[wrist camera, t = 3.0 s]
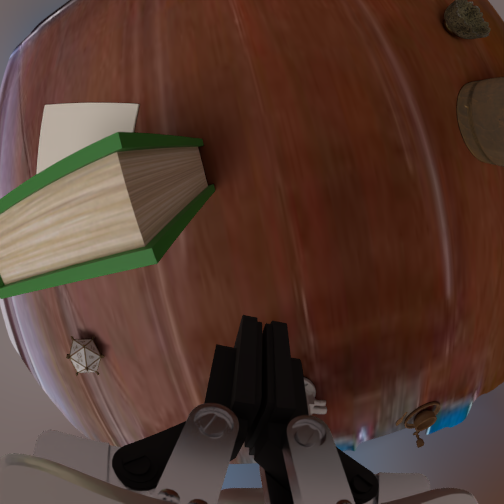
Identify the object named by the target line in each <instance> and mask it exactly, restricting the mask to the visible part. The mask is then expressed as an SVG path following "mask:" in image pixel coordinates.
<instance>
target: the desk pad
mask: <svg viewBox="0 0 504 504" xmlns="http://www.w3.org/2000/svg"><path fill="white" fill-rule="evenodd" d="M139 105H140V104H129V103H68V104H52V105H45V108H44V113H43V119H42V125H41V132H40V140H39V149H38V160H37V174H38V173H40V172H41V171H43V170H45V169H46V168H48V167H50V166H51V165H53V164H55V163H57V162H58V161H60V160H62V159H64V158H66V157H67V156H69V155H71V154H73V153H75V152H77V151H79V150H81V149H83V148H85V147H87V146H89V145H91V144H93V143H95V142H97V141H99V140H101V139H103V138H105V137H107V136H110V135H112V134H114V133H116V132H134V129H135V124H136V119H137V114H138V110H139Z"/></svg>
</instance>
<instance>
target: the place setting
mask: <svg viewBox="0 0 504 504" xmlns="http://www.w3.org/2000/svg"><path fill="white" fill-rule="evenodd" d="M431 405H436V409H435V411H434V412H433V411H430V410H429V411H427V410H424V411H422V412H420V413H419V414H418V415H417V416H416V418H415V420H414V424H408V423H407V421H408V420H409V419H410V418H411V417H412V416H413V415H414V414H415V413H417V412H418V411H420V410H422V409H424V408H426V407H428V406H431ZM439 410H440V405H439V403H437V402H430V403H427V404H425V405H423V406H421V407H419V408H417V409H416V410H414V411H413V412H412V413H411V414H410V415H409V416H408V417H407V418H406V420H405V427H406V428H409V429H410V428H415V430H416V432H414V433H413V435H416V437H417V439H418V440H417V441H416V443H417V446H418V448H419V447H421V446H423V445H424V441H423V440H422V439H421V438H419V435H418V433H419V432H420V431H422V430H424V429H427V428H428V427H430V426H431V425H433V424H434V423H435V421H436V419H437V418H436V416H435V415H436V414H437V413H438V412H439ZM406 413H407V412H406ZM406 413H405V414H404V415H403V417H404V416H405V415H406ZM403 417H402V418H401V419H399V420H398V421H397V422H396V426H397V425H399V424H400V423H401V422H402V420H403Z"/></svg>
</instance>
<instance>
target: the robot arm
mask: <svg viewBox="0 0 504 504" xmlns="http://www.w3.org/2000/svg"><path fill="white" fill-rule="evenodd" d="M315 395H316V391H315V387H314V384H313V383H312V382H311V381H310V380H308V379H307V378H304V377H303V370H302V363H301V360H300V359H296V358H291V355H290V346H289V338H288V329H287V324H286V323H282V322H276V321H272V322H271V324H267V323H266V324H265V327H264V330H263V333H262V322H257V318H256V317H251V316H246V315H243V316H242V320H241V323H240V327H239V331H238V335H237V338H236V342H235V346H234V348H232V347H227V346H222V345H217V344H216V349H215V354H214V359H213V363H212V368H211V373H210V378H209V383H208V388H207V393H206V398H205V403H204V404H201V405H198V406H197V407H195V408H194V409H193V410H192V411H191V413H190V414H189V417H188V419H187V421H185V422H183V423H181V424H178V425H176V426H174V427H171V428H169V429H167V430H164V431H162V432H159V433H157V434H155V435H152V436H150V437H147V438H144V439H142V440H139V441H136V442H134V443H131V444H128V445H125V446H123V447H117V446H111V445H109V443H105V442H100V441H95V440H91V439H86V438H82V437H78V436H74V435H70V434H66V433H63V432H59V431H55V430H47V431H43V432H42V433H41V434H40V435H39V436H38V438H37V440H36V445H35V449H34V454H33V456H31V455H26V454H7V455H4V456H2V457H1V458H0V504H478V502H477V500H476V498H475V497H474V496H473V495H472V494H471V493H470V492H468V491H466V490H463V489H457V488H441V489H435V490H430V483H429V480H428V479H427V477H426V476H424V475H422V474H419V473H381V472H380V473H378V474H373V473H372V472H371V471H370V470H368V469H367V468H365V467H364V466H362V465H361V464H359V463H358V462H356V461H355V460H354V459H352V458H351V457H349V456H348V455H346V454H345V453H344V452H342V451H341V450H340V449H338V448H337V447H336V446H335V443H334V440H333V437H332V434H331V432H330V429H329V428H328V426H327V425H326V424H325V423H324V422H323V421H322V420H320V419H319V418H317V417H314V416H311V414H312V413H316V414H326V412H327V407H326V406H325V405H326V400H316V399H315ZM315 405H316V406H315ZM244 441H245V447H249V455H254V460H255V461H256V462H257V463H258V464H259V465H260V476H261V481H262V488H230V489H224V490H221V488H222V485H223V481H224V478H225V475H226V471H227V468H228V465H229V462H230V461H231V460H233V459H234V458H236V456H237V454H238V452H239V450H240V449H241V447H242V445H243V443H244Z"/></svg>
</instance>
